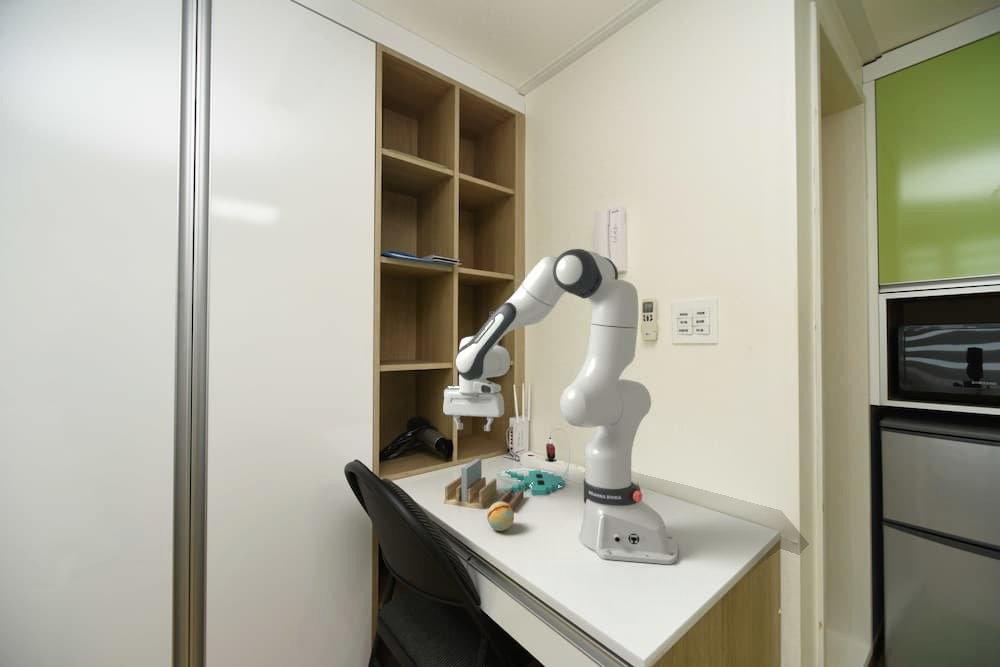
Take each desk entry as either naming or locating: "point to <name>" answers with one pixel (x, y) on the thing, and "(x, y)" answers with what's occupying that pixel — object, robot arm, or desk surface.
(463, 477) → the plate
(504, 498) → the stand
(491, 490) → the rack
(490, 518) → the ball
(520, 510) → the desk surface
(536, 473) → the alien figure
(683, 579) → the desk surface
